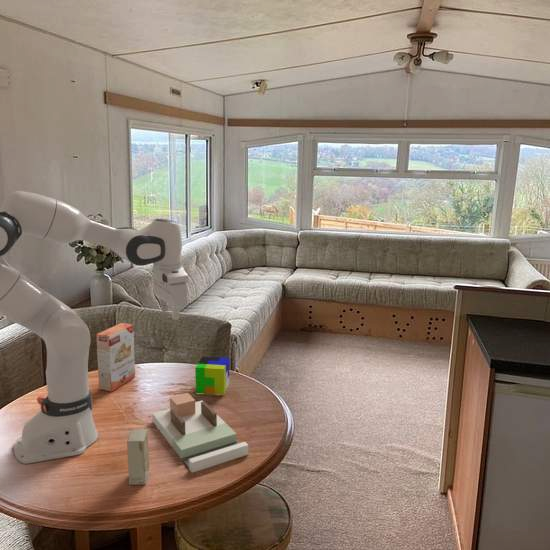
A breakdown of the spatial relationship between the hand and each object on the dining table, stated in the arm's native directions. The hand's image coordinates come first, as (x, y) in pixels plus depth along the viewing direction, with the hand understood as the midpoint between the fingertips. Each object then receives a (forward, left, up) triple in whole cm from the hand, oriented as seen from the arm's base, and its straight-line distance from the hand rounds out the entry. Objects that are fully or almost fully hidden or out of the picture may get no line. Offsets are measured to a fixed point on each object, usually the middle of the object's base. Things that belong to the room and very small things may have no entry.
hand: (169, 315), depth 163 cm
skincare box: (-21, -29, -33) cm, 49 cm away
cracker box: (-10, +30, -33) cm, 45 cm away
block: (0, -7, -30) cm, 31 cm away
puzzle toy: (+18, +9, -33) cm, 39 cm away
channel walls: (0, -16, -30) cm, 34 cm away
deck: (0, -19, -33) cm, 38 cm away
